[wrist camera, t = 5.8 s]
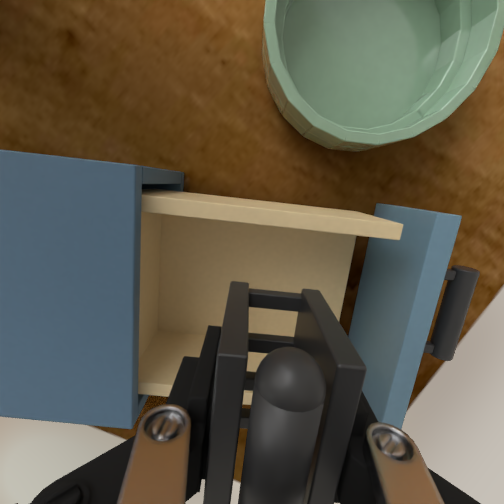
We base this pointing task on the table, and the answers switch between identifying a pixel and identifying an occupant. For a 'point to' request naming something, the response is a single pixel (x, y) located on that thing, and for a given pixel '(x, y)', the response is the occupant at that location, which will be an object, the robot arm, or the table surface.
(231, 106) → the table surface
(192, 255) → the drawer
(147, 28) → the table surface
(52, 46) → the table surface
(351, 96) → the bowl
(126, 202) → the cabinet
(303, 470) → the grey roller rack
